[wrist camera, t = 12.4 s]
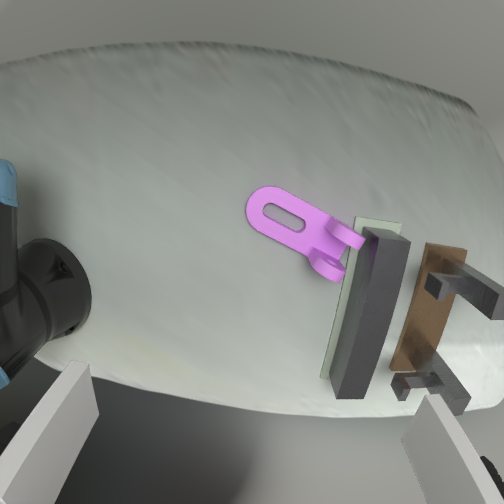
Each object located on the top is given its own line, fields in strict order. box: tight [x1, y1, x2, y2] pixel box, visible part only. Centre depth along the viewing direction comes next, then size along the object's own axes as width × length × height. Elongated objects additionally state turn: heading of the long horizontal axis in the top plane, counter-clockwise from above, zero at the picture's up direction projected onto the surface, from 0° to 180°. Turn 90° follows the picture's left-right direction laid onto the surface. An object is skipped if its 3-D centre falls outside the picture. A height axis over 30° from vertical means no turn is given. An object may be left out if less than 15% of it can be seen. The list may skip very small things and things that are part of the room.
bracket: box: [246, 186, 366, 283], centre depth 36 cm, size 13×6×7 cm, turn 63°
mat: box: [320, 216, 402, 378], centre depth 42 cm, size 6×24×1 cm, turn 174°
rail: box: [329, 226, 411, 399], centre depth 38 cm, size 4×22×6 cm, turn 174°
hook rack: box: [389, 243, 504, 416], centre depth 35 cm, size 10×20×14 cm, turn 174°
